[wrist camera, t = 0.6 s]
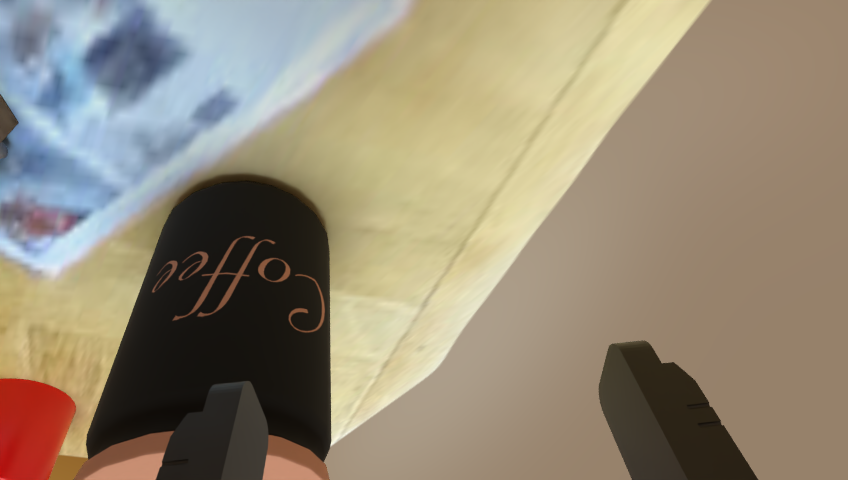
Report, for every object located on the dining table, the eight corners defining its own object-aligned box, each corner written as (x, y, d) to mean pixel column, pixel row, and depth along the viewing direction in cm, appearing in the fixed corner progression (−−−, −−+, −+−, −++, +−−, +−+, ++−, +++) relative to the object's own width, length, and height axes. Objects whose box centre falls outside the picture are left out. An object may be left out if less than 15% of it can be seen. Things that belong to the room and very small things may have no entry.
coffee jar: (352, 201, 34) (370, 462, 21) (300, 301, 40) (288, 556, 27) (185, 148, 30) (75, 435, 17) (153, 269, 36) (52, 553, 23)
